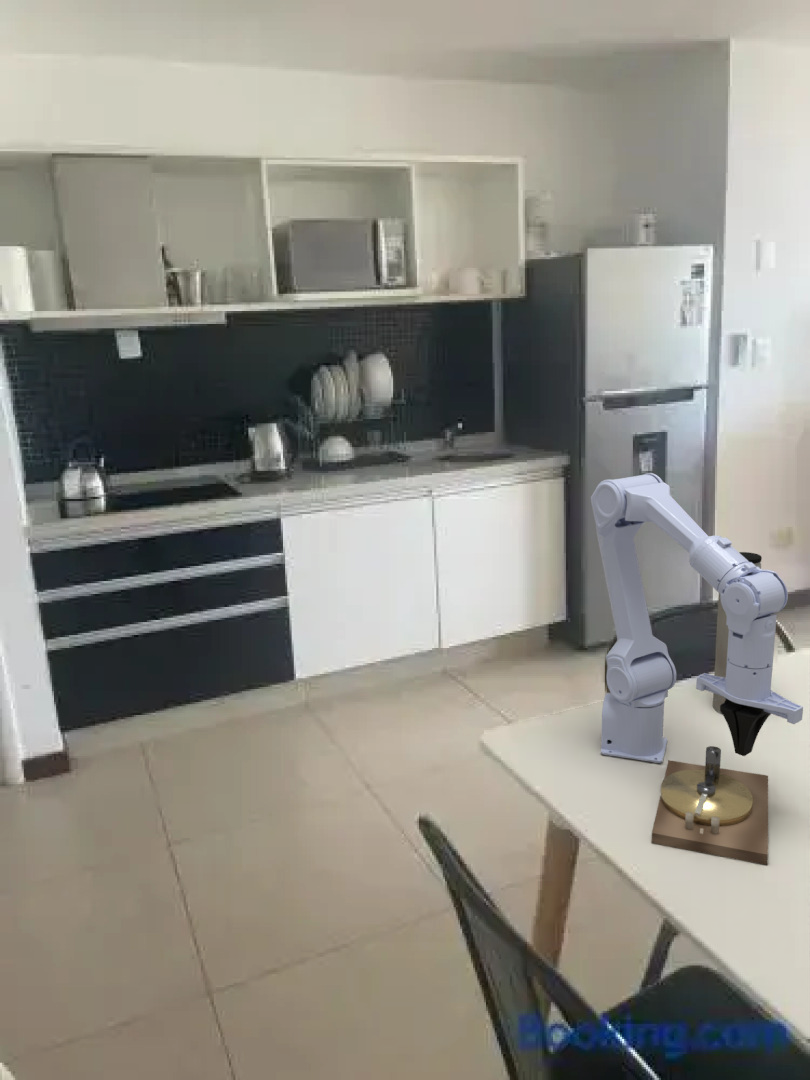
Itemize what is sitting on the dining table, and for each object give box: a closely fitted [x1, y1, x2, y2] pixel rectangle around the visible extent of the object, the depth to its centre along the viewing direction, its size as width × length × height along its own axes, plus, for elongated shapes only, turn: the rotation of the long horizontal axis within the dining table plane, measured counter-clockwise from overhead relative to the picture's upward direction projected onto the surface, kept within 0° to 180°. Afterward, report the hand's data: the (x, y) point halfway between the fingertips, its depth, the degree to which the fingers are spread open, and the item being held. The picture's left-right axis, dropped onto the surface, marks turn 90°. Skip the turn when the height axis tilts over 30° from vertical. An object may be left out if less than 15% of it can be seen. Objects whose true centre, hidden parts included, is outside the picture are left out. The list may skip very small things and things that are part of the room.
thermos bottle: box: [712, 551, 763, 715], centre depth 143 cm, size 8×8×28 cm
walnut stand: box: [651, 760, 769, 866], centre depth 116 cm, size 14×20×4 cm
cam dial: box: [660, 745, 753, 826], centre depth 116 cm, size 12×12×5 cm
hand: (743, 752), depth 116 cm, fingers closed
